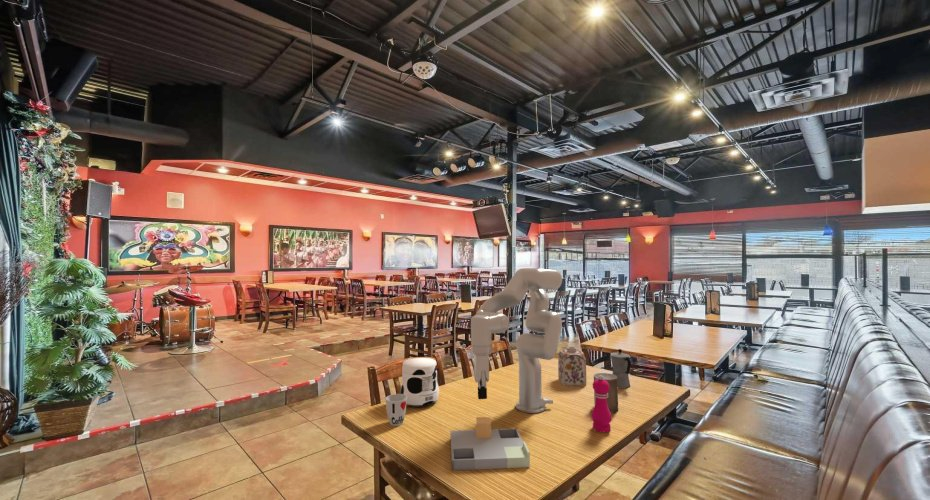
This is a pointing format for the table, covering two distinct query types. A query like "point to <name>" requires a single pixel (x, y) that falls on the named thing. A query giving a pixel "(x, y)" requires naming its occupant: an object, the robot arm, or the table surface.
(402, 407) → the cup
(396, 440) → the table surface
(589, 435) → the table surface
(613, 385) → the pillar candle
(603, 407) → the pepper mill
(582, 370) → the decorative jar
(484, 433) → the block
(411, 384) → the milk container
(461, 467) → the grey sorting tray
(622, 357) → the coffeepot
